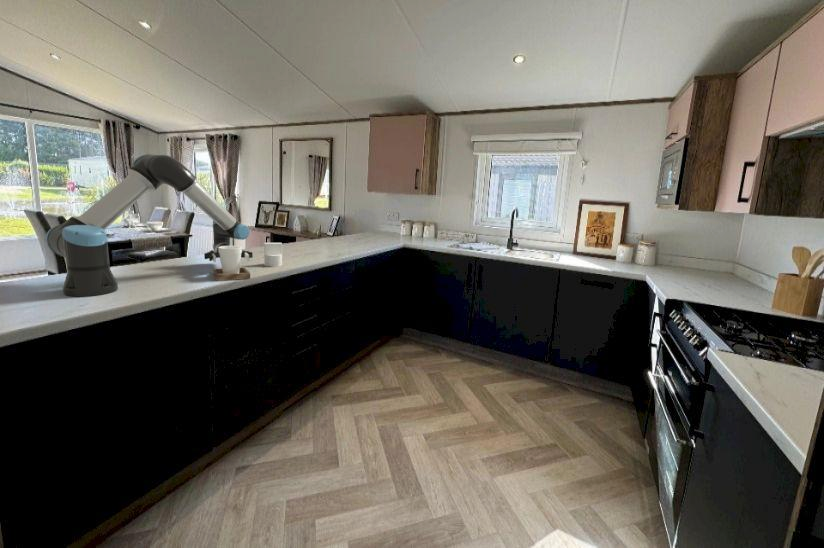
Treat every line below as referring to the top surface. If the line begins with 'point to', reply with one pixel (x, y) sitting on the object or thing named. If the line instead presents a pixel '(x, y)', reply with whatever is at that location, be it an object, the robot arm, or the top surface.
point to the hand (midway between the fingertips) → (232, 258)
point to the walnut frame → (241, 275)
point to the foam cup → (230, 258)
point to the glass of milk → (273, 254)
